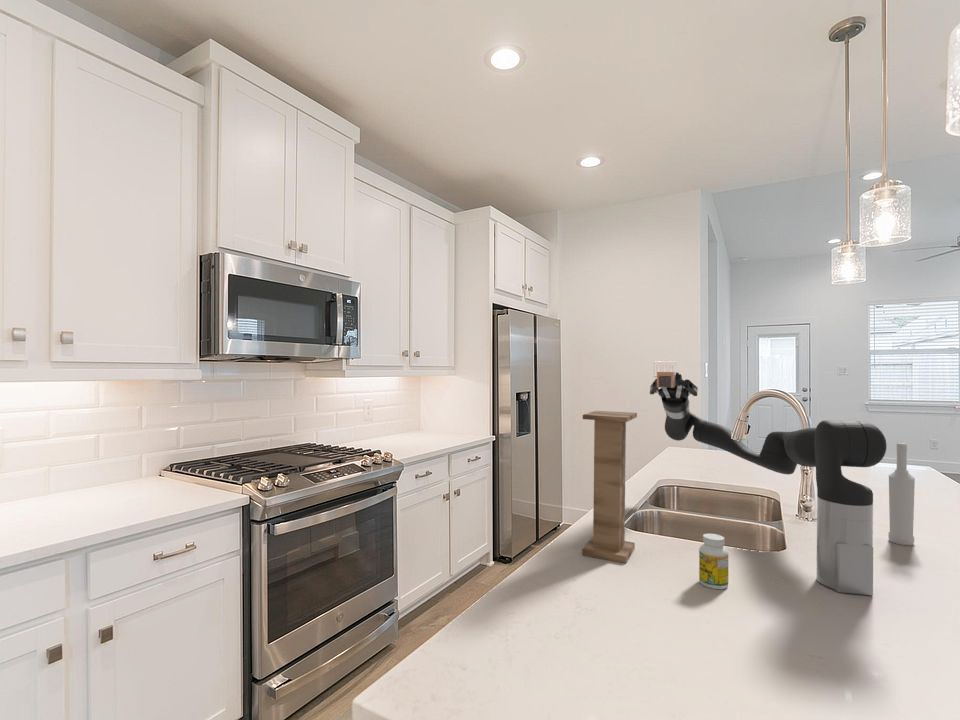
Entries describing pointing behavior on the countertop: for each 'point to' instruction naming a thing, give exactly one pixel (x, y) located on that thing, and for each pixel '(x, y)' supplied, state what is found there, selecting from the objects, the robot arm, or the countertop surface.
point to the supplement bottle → (713, 562)
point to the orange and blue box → (666, 379)
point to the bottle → (901, 500)
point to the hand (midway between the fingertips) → (670, 375)
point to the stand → (609, 487)
